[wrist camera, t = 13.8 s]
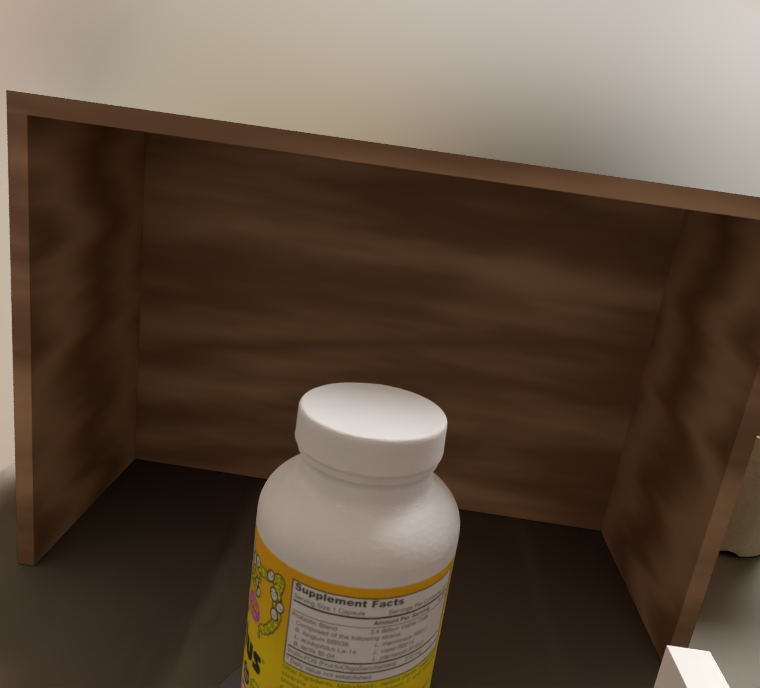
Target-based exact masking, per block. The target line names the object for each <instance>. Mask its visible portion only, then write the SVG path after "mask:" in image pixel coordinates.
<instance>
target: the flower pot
mask: <svg viewBox="0 0 760 688" xmlns="http://www.w3.org/2000/svg"><path fill="white" fill-rule="evenodd" d="M722 550H725V551H730V552H733V553H735V554H736V555H737V556H739V557H752V556H757V555H760V428H759V431H758V435H757V438H756V441H755V444H754V447H753V450H752V453H751V456H750V459H749V462H748V465H747V468H746V471H745V474H744V477H743V480H742V484H741V487H740V490H739V493H738V496H737V499H736V502H735V505H734V508H733V511H732V514H731V517H730V520H729V523H728V526H727V529H726V532H725V536H724V539H723V542H722V545H721V548H720V551H722Z"/></svg>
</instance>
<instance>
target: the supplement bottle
mask: <svg viewBox="0 0 760 688" xmlns="http://www.w3.org/2000/svg"><path fill="white" fill-rule="evenodd" d="M446 431H447V418H446V415H445V414H444V412H443V411H442V410H441V408H440V407H439V406H437V405H436V404H435V403H433V402H432V401H430V400H428V399H427V398H424V397H422V396H420V395H418V394H416V393H413V392H410V391H407V390H403V389H400V388H396V387H391V386H387V385H381V384H371V383H333V384H327V385H323V386H320V387H317V388H314V389H312V390H310V391H308V392H307V393H305V394H304V395H303V397H302V398H301V399H300V402H299V406H298V414H297V423H296V430H295V439H296V442H297V444H298V448H299V451H300V453H301V454H298V455H296V456H294V457H292V458H291V459H289V460H287V461H286V462H284V463H283V464H282V465H281V466H279V467H278V468H277V469H276V470H275V471H274V472H273V473H272V474H271V476H270V477H269V478H268V480H267V481H266V483H265V485H264V487H263V489H262V491H261V494H260V497H259V502H258V508H257V517H256V527H255V540H254V552H253V561H252V573H251V583H250V592H249V603H248V615H247V626H246V636H245V647H244V658H243V669H242V680H241V688H430V683H431V677H432V672H433V667H434V662H435V657H436V651H437V646H438V641H439V636H440V631H441V626H442V620H443V615H444V610H445V605H446V600H447V594H448V589H449V584H450V579H451V574H452V569H453V564H454V559H455V554H456V549H457V544H458V539H459V533H460V516H459V510H458V506H457V503H456V501H455V499H454V497H453V495H452V493H451V491H450V490H449V488H448V487H447V486H446V484H445V483H444V482H443V481H442V480H441V479H440V478H439V477H438V476H437V475H436V474H435V473H433V471H434V470H435V469H436V467H437V465H438V463H439V462H440V460H441V459H442V456H443V453H444V445H445V437H446Z"/></svg>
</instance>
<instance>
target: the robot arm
mask: <svg viewBox="0 0 760 688" xmlns="http://www.w3.org/2000/svg"><path fill="white" fill-rule="evenodd" d="M654 688H730V687H729V685H728V684H727V682H726V680H725V678H724V676H723V675H722V673H721V671H720V669H719V667H718V666H717V664H716V662H715V660H714V658H713V657H712V655H711V653H710V651H703V650H696V649H690V648H683V647H676V646H669V645H667V646H666V650H665V653H664V656H663V659H662V663H661V666H660V669H659V672H658V676H657V679H656V682H655V685H654Z"/></svg>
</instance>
